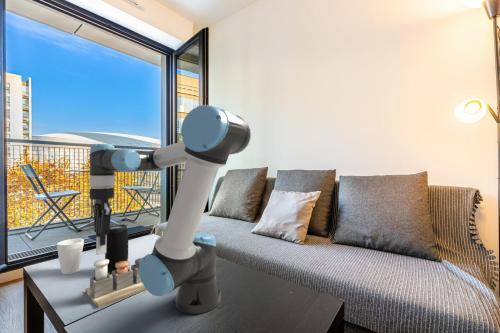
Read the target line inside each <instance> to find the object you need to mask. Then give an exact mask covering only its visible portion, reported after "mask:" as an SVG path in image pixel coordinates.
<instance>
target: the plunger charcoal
mask: <svg viewBox="0 0 500 333" xmlns="http://www.w3.org/2000/svg"><path fill="white" fill-rule="evenodd" d="M142 258H143V257H139V258H136V259H135V260H134V265H135V264H136V268H138V269H139V264H140V261H141V259H142Z"/></svg>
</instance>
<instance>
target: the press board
mask: <svg viewBox="0 0 500 333" xmlns="http://www.w3.org/2000/svg"><path fill="white" fill-rule="evenodd" d="M84 291H85V293H86V295H87V296H88V297H89V299H90V300H91V301H92V302H93V303H94V304H93V305H95V306H96V307H97V309H100V308H103V307H106V306H108V305H111V304H113V303H116V302H118V301H121V300H124V299H126V298H129V297H132V296H133V295H136V294H140V293H141V292H145V291H147V289H146V288H145V287H144V285H143V284H142V281H141V279H140V275H139V269H138V268H136V264H135V263H134V264H132V265H130V267H129V266H128V272H126V273H122V274H119V275H118V274H117V270H114V271H112V274H110V273H108V272H107V278H106V279H103V280H100V281H97V282H96V281H95V276H91V277H89V287H86V288H85V290H84Z"/></svg>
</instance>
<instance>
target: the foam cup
mask: <svg viewBox="0 0 500 333" xmlns="http://www.w3.org/2000/svg"><path fill="white" fill-rule="evenodd" d="M84 245H85V239H84V238H79V237H78V238H69V239H65V240H61V241H59V242H57V243H56V250H57V255H58V261H59V266H60V272H61V275H71V274H74V273H77V272H79V271H80V267H81V263H82V262H81V261H82V256H83V249H84Z"/></svg>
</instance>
